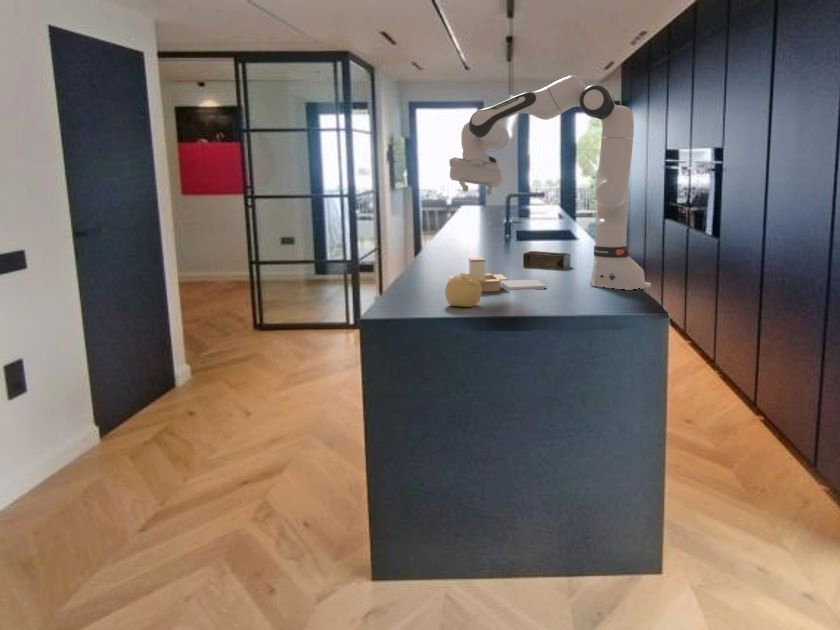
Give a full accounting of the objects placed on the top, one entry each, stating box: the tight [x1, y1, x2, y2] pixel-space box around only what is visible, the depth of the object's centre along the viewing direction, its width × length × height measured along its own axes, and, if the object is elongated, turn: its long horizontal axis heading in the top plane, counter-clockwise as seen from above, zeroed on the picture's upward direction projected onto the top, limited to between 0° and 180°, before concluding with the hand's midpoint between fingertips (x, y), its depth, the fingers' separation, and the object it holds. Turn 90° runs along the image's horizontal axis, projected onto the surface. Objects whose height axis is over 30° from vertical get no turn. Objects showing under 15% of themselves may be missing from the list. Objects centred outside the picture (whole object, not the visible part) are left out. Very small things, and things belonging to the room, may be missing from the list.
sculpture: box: [444, 272, 483, 308], centre depth 245 cm, size 11×12×11 cm
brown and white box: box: [468, 257, 486, 280], centre depth 273 cm, size 5×5×11 cm
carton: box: [447, 272, 509, 293], centre depth 273 cm, size 17×20×4 cm
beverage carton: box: [522, 250, 571, 270], centre depth 324 cm, size 8×19×7 cm, turn 58°
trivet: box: [500, 278, 547, 290], centre depth 279 cm, size 14×14×1 cm
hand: (477, 192), depth 279 cm, fingers open, 8 cm apart
